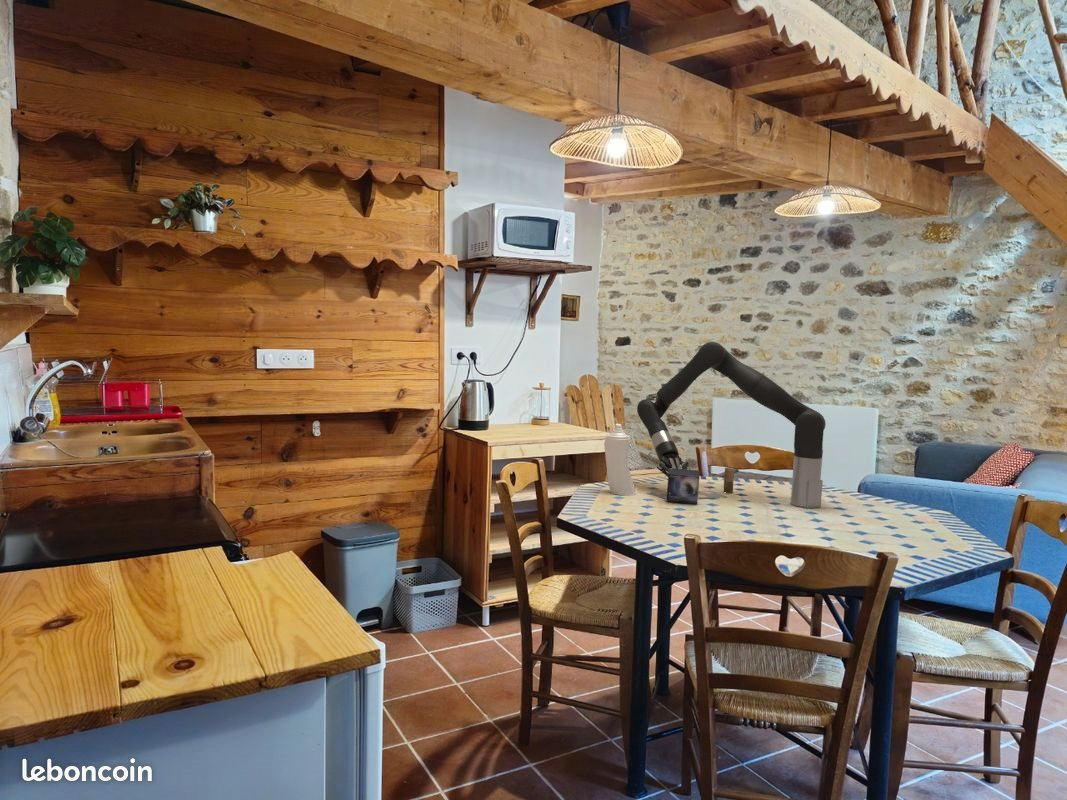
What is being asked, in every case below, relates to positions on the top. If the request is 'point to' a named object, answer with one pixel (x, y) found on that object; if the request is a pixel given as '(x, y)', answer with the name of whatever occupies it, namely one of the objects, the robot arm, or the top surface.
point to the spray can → (618, 462)
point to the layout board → (700, 495)
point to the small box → (683, 486)
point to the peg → (728, 480)
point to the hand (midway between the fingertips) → (681, 485)
